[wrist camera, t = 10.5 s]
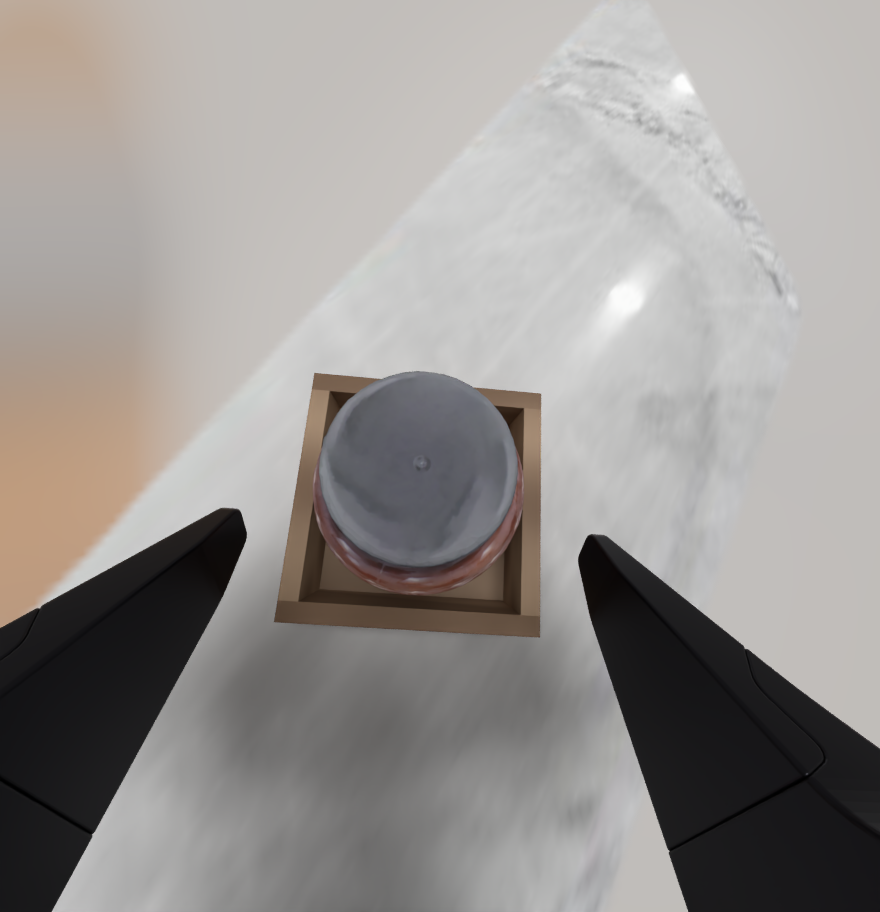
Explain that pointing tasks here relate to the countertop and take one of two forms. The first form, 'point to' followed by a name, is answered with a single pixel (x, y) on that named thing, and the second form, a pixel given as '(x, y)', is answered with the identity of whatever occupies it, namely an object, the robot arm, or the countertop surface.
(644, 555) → the countertop surface
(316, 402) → the wooden box
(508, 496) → the supplement bottle
